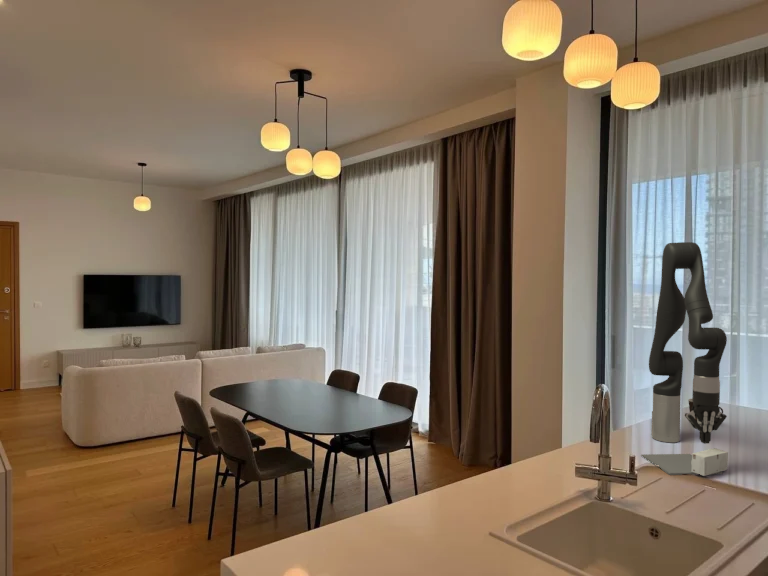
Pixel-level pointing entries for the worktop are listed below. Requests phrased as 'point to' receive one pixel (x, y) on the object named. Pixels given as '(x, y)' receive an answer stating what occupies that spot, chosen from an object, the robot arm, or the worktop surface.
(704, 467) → the skincare box
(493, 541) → the worktop surface
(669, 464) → the mat
